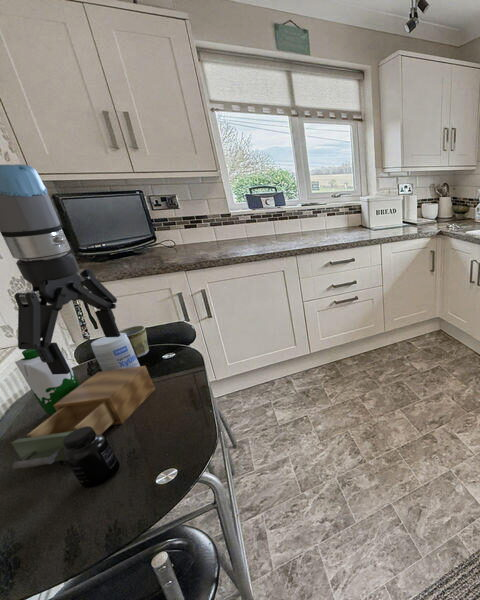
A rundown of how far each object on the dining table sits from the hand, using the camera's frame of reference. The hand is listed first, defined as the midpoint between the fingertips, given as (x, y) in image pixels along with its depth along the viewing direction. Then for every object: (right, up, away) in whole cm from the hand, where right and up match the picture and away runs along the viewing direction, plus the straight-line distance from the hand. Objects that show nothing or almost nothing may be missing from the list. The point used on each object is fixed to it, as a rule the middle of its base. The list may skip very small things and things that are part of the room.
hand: (89, 353), depth 69 cm
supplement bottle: (-2, -28, +5) cm, 29 cm away
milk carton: (-35, -22, +30) cm, 51 cm away
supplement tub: (-30, -16, +44) cm, 56 cm away
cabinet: (-19, -21, +27) cm, 39 cm away
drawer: (-17, -25, +13) cm, 33 cm away
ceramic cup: (-39, -10, +61) cm, 73 cm away
